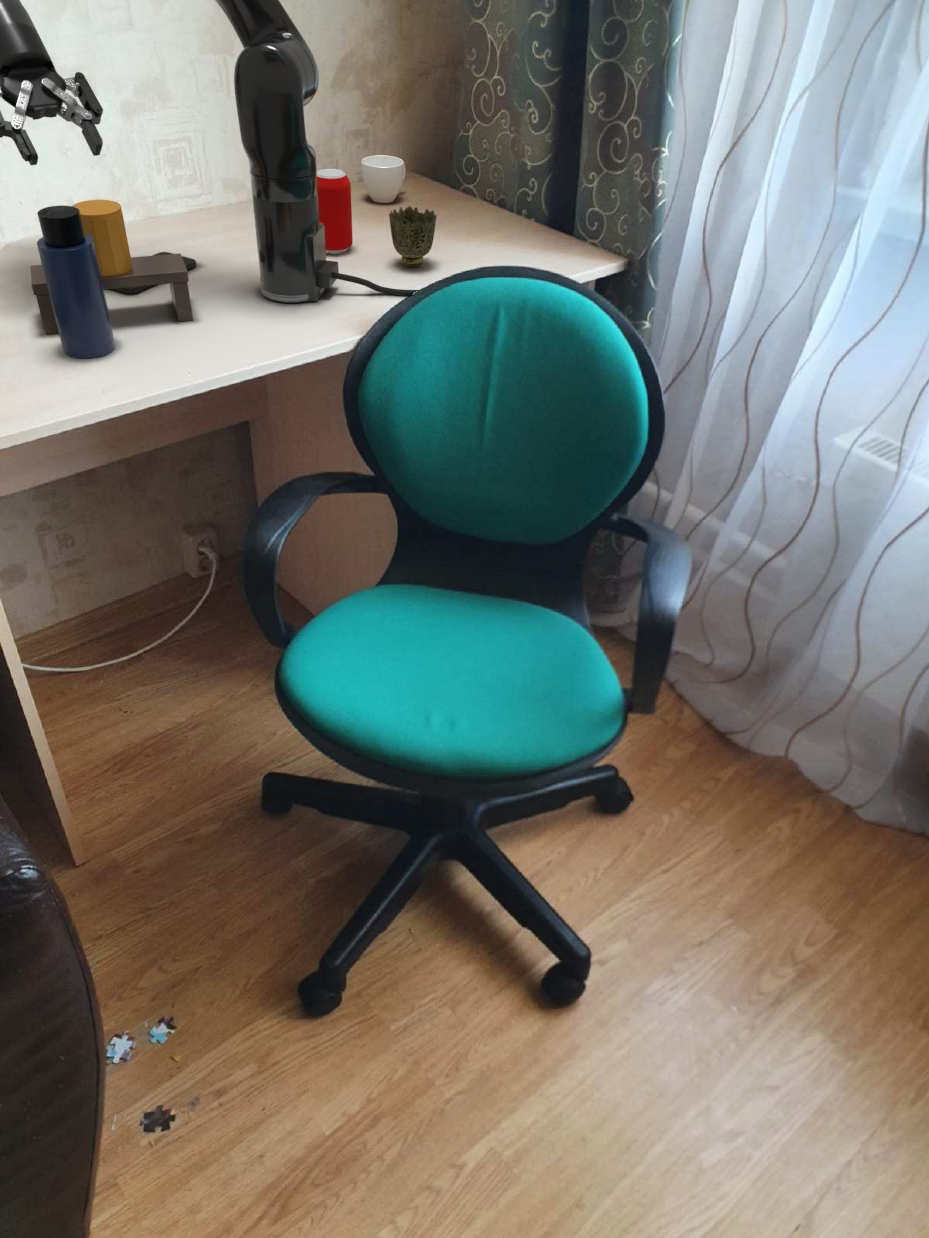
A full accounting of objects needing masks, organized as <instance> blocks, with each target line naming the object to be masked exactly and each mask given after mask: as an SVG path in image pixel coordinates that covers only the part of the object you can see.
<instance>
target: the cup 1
mask: <svg viewBox="0 0 929 1238" xmlns="http://www.w3.org/2000/svg"><path fill="white" fill-rule="evenodd" d="M360 164H361V165H360V166H361V178H362V182H363V185H364V188H365V190H366V192H367V194H368V195H369V197H370V199H371V200H372V202H374V203H379V204H387V203H388V204H389V203H393V202H394V201H395V199H396V198H397V196H398V195H399V193H400V191H401V188H402V185H403V183H404V180H405V178H406V172H407V171H406V165H405V161H404V160H403V159H402V158H400V157H397V156H393V155H385V154H383V155H382V154H377V155H370V156H365V157H363V158H362V159H361V163H360Z"/></svg>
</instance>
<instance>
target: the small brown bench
mask: <svg viewBox="0 0 929 1238" xmlns="http://www.w3.org/2000/svg"><path fill="white" fill-rule="evenodd" d="M153 255H154V256H152V255H144V256H132V257H131V262H132V267H133V268H132V269H131V270H130V271H129V272H127V273H124V274H121V275H118V276H110V277H101V279H102V283H103V288H104V290H109V289H112V288H123V287H134V286H145V285H152V286H155V285H165V284H169V289H170V295H171V300H172V304H173V307H174V311H175V314H176V318H177V321H178V322H180V323H181V322H189V321H194V316H193V309H192V302H191V296H190V289H189V284H188V283H189V282H190V280H189V273H188V270H187V269H186V266H185V264H184V261H183V258H182V256H183V255H182V253H173V254H167V255H155V254H153ZM30 283H31V289H32V293H33V295H34V296H35V298H36V301H37V306H38V309H39V314H40V317H41V321H42V325H43V330H44V333H45V335H46V336H50V335H51V336H52V335H59V331H58V327H57V323H56V319H55V315H54V311H53V307H52V303H51V299H50V295H49V291H48V287H47V283H46V279H45V275H44V271H43V267H42V264H31V265H30ZM112 290H113V289H112Z"/></svg>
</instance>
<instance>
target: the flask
mask: <svg viewBox="0 0 929 1238" xmlns="http://www.w3.org/2000/svg"><path fill="white" fill-rule="evenodd" d="M72 206H73V205H51V206H46V207H44V208H40V209H39V210H38V211H37V217H38V222H39V226H40V229H41V234H42V237H40V238H39V239H38V240H37V241H36V246H37V250H38V255H39V258H40V262H41V265H42V267H43V271H44V275H45V279H46V283H47V287H48V291H49V295H50V299H51V303H52V307H53V311H54V315H55V319H56V323H57V327H58V331H59V334H58V335H59V339H60V343H61V348H62V351H63V354H64V355H66V356H67V357H69V358H73V359H76V360H77V359H78V360H90V359H91V360H92V359H98V358H101V357H103V356H107V355H109V354H110V353H112V352H113V351H114V350H115V349H116V342H115V337H114V336H115V335H114V332H113V327H112V321H111V317H110V312H109V308H108V304H107V303H108V302H107V299H106V293H105V289H104V288H103V283H102V279H101V274H100V269H99V264H98V259H97V255H96V250H95V245H94V240H93V238H92V237H91V236H90V235H87V234H84V230H83V225H82V220H81V216H80V211H79V209H78V208H76V207H72Z"/></svg>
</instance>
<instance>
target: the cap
mask: <svg viewBox="0 0 929 1238" xmlns="http://www.w3.org/2000/svg"><path fill="white" fill-rule="evenodd" d="M71 206H72V207H76V208H78V209H79V211H80V216H81V220H82V225H83V230H84V234H87V235H90V236H91V237H92V238H93V240H94V245H95V250H96V255H97V259H98V264H99V269H100V274H101V277H110V276H118V275H121V274H124V273H127V272H129V271H130V270H131V269H132V268H133V267H132V262H131V251H130V246H129V242H128V241H129V240H128V236H127V230H126V224H125V220H124V213H123V210H122V204H120V203H119V202H117V201H115V200H110V199H89V200H88V199H87V200H83V201H80V202H77V203H74V204H72V205H71Z"/></svg>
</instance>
